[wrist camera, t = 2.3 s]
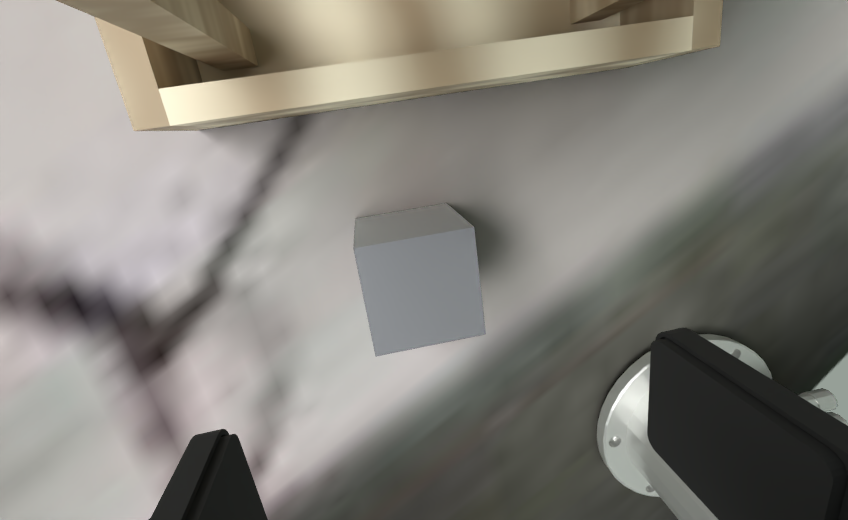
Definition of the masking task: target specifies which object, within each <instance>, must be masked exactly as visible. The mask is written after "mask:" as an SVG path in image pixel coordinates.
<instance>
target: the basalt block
mask: <svg viewBox="0 0 848 520" xmlns="http://www.w3.org/2000/svg"><path fill="white" fill-rule="evenodd" d="M353 249H354V254H355V258H356V263H357V268H358V273H359V278H360V283H361V288H362V292H363V297H364V302H365V307H366V312H367V317H368V322H369V327H370V331H371V336H372V341H373V346H374V351H375V356H381V355H385V354H390V353H395V352H400V351H405V350H410V349H415V348H420V347H425V346H430V345H435V344H440V343H445V342H450V341H455V340H460V339H465V338H470V337H475V336H480V335H485V334H486V331H485V322H484V313H483V303H482V294H481V285H480V276H479V267H478V257H477V248H476V239H475V230H474V226H472V225H471V224H470V223H469V222H468V221H467V220H465V219H464V218H463V217H462V216H461V215H460V214H459V213H457V212H456V211H455V210H454V209H453V208H452V207H450V206H449V205H448V204H447V203H444V204H438V205H432V206H426V207H420V208H414V209H408V210H403V211H397V212H391V213H385V214H379V215H373V216H367V217H362V218H356V219H355V231H354V248H353Z"/></svg>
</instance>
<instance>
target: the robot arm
mask: <svg viewBox="0 0 848 520" xmlns="http://www.w3.org/2000/svg"><path fill="white" fill-rule="evenodd" d="M837 406H838V404H837V400H836V398H835V397H834V395H833V394H832V393H831V392H830V391H828V390H826V389H823V388H821V389H817V390H813V391H808V392H804V393H801V394H800V395H797V394H795V393H793V392H792V391H790V390H788V389H787V388H785V387H783V386H782V385H780V384H779V383H777V382H775V381H774V380H772V376H771V372H770V371H769V369H768V367H767V365H766V363H765V362H764V361H763V360H762V359H761V357H760V356H759V355H758V354H757V353H756V352H754V351H753V350H751V349H749V348H748V347H746V346H744V345H743V344H741V343H739V342H737V341H735V340H733V339H730V338H728V337H725V336H719V335H713V334H697V333H695V332H693V331H692V330H690V329H687V328H679V329H674V330H670V331H665V332H661V333H659V334H658V335H657V337H656V340H655V341H653V342H652V344H651V351H650V352H648V353H646V354H645V355H643V356H642V357H641V358H640V359H638V360H637V361H636V362H635V363H633V364H632V365H631V366H630V367H629V368H628V369H627V370H626V371H625V372H624V373H623V374H622V375H621V376H620V378H619V379H618V380H617V381H616V383H615V384H614V386H613V387H612V389H611V390H610V392H609V393H608V395H607V397H606V400H605V402H604V404H603V406H602V408H601V412H600V416H599V420H598V424H597V442H598V448H599V452H600V454H601V457H602V459H603V461H604V463H605V464H606V466H607V467H608V468H609V470H610V471H611V473H612V474H613V475H614V477H615V478H616V479H617V480H618V481H619V482H620V483H622V484H623V485H624V486H625V487H627V488H629V489H631V490H633V491H634V492H637V493H640V494H643V495H647V496H657V497H661V499H662V500H663V501H664V502H665V504H666V505H667V506H668V507H669V509H670V510H671V511H672V512H673V513H674V515H675V516H676V517H677V518H678V520H848V423H847V422H846V420H844V419H843V418H842V417H841V416H840V415H838V414H835V413H833V412H826V411H830V410H834V409H836V407H837ZM149 520H268V519H267V516H266V514H265V511H264V508H263V505H262V502H261V500H260V497H259V494H258V491H257V489H256V486H255V483H254V480H253V477H252V475H251V472H250V469H249V466H248V463H247V461H246V458H245V455H244V452H243V449H242V447H241V444H240V441H239V438H238V436H237V435H236V434H232V435H229V433H228V432H227V431H226V430H225V429H221V430H216V431H212V432H207V433H203V434H198V435H195V436H193V438H192V439H191V440H190V442H189V444H188V446H187V448H186V450H185V452H184V454H183V456H182V458H181V460H180V462H179V464H178V466H177V468H176V470H175V472H174V474H173V476H172V478H171V480H170V482H169V483H168V485H167V487H166V489H165V491H164V493H163V495H162V497H161V499H160V501H159V503H158V505H157V507H156V509H155V511H154V513H153V515H152V517H151V518H150V519H149Z"/></svg>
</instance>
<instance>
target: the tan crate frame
mask: <svg viewBox="0 0 848 520" xmlns="http://www.w3.org/2000/svg"><path fill="white" fill-rule="evenodd" d="M57 1H59V2H61V3H64V4H66V5H68V6H71V7H73V8H75V9H78V10H80V11H83V12H85V13H87V14H90V15H92V16H94V17H95V20H96V23H97V26H98V29H99V31H100V34H101V37H102V40H103V43H104V46H105V49H106V52H107V55H108V57H109V60H110V63H111V66H112V69H113V72H114V75H115V78H116V81H117V83H118V86H119V89H120V92H121V95H122V98H123V101H124V104H125V107H126V109H127V112H128V115H129V118H130V121H131V124H132V127H133V130H134V131H191V130H204V129H211V128H218V127H225V126H232V125H238V124H245V123H252V122H259V121H266V120H273V119H279V118H286V117H293V116H300V115H307V114H313V113H320V112H327V111H334V110H341V109H348V108H354V107H361V106H368V105H375V104H382V103H389V102H395V101H402V100H409V99H416V98H423V97H429V96H436V95H443V94H450V93H457V92H464V91H470V90H477V89H484V88H491V87H498V86H505V85H511V84H518V83H525V82H532V81H539V80H545V79H552V78H559V77H566V76H573V75H580V74H586V73H593V72H600V71H607V70H614V69H621V68H627V67H632V66H636V65H641V64H645V63H649V62H654V61H658V60H662V59H667V58H671V57H675V56H680V55H684V54H688V53H693V52H697V51H701V50H706V49H710V48H714V47H719V46H720V36H721V22H722V8H723V0H57Z"/></svg>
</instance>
